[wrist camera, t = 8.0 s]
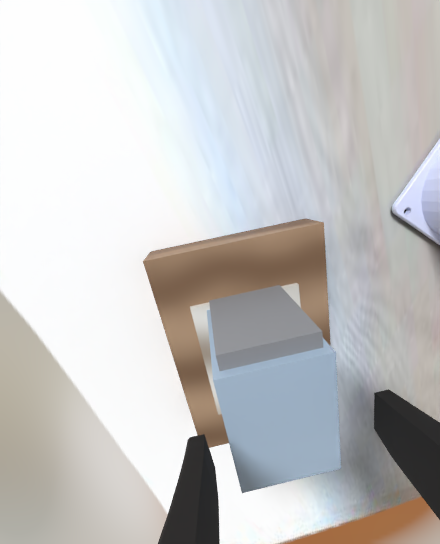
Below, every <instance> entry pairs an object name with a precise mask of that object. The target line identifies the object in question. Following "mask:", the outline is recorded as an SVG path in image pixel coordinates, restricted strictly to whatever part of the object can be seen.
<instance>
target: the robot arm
mask: <svg viewBox="0 0 440 544" xmlns="http://www.w3.org/2000/svg"><path fill="white" fill-rule="evenodd" d="M405 209H406V213H405V214H404V210H405ZM392 212H393V213H394V214H395V215H397V216H398V217H399V218H401V219H402V220H404V221H405V222H407V223H408V224H410V225H411V226H412V227H414V228H415V229H417V230H418V231H420V232H421V233H423V234H424V235H425V236H427V237H428V238H430V239H431V240H433V241H434V242H436V243H437V244H438V245H440V139H439V140H438V142H437V143H436V145H435V146H434V147H433V149H432V150H431V152H430V153H429V154H428V156H427V157H426V159H425V160H424V162H423V163H422V164H421V166H420V167H419V169H418V170H417V171H416V173H415V174H414V176H413V177H412V178H411V180H410V181H409V183H408V184H407V186H406V187H405V188H404V190H403V191H402V193H401V194H400V195H399V197H398V198H397V200H396V201H395V203H394V204H393V206H392ZM374 429H375V431H376V432H377V434H378V436H379V437H380V439H381V440H382V442H383V444H384V445H385V447H386V448H387V450H388V452H389V453H390V455H391V456H392V458H393V459H394V460H395V462H396V463H397V464H398V466H399V467H400V468H401V470H402V471H403V472H404V474H405V475H406V476H407V478H408V479H409V480H410V482H411V483H412V484H413V486H414V487H415V488H416V489H417V491H418V492H419V493H420V495H421V496H422V497H423V499H424V500H425V501H426V502H427V504H428V505H429V506H430V508H431V509H432V510H433V512H434V513H435V514H436V516H437V517H438V518H439V519H440V423H439V422H438V421H436V420H435V419H433V418H432V417H430V416H429V415H427V414H425V413H424V412H422V411H421V410H419V409H418V408H416V407H415V406H413V405H412V404H410V403H409V402H407V401H406V400H404V399H402V398H401V397H399V396H398V395H396V394H395V393H393V392H392V391H390V390H385V391H381V392H377V393H375V399H374ZM158 544H219V506H218V492H217V482H216V472H215V466H214V463H213V460H212V456H211V453H210V450H209V447H208V444H207V441H206V437H205V434H203V435H199V436H194V437H190V438H189V439H188V442H187V447H186V452H185V456H184V460H183V464H182V468H181V472H180V476H179V479H178V483H177V486H176V490H175V493H174V496H173V500H172V503H171V506H170V509H169V513H168V516H167V519H166V522H165V524H164V527H163V530H162V533H161V536H160V539H159V542H158Z"/></svg>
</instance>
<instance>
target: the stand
mask: <svg viewBox="0 0 440 544" xmlns="http://www.w3.org/2000/svg"><path fill="white" fill-rule="evenodd" d="M143 263H144V266H145V269H146V272H147V275H148V279H149V282H150V285H151V288H152V291H153V295H154V298H155V301H156V304H157V307H158V310H159V314H160V317H161V320H162V323H163V326H164V330H165V333H166V336H167V339H168V342H169V345H170V349H171V352H172V355H173V358H174V361H175V365H176V368H177V371H178V374H179V377H180V380H181V384H182V387H183V390H184V393H185V396H186V400H187V403H188V406H189V409H190V412H191V415H192V419H193V422H194V425H195V428H196V431H197V435H198V436H199V435H203V434H205V437H206V441H207V444H208V447H209V448H210V447H214V446H218V445H222V444H227V443H229V440H228V436H227V432H226V429H225V425H224V421H223V417H222V413H221V409H220V405H219V402H218V398H217V394H216V390H215V386H214V382H213V375H212V364H211V352H210V341H209V330H208V319H207V310H210V305H209V300H214V299H218V298H223V297H228V296H232V295H237V294H241V293H246V292H250V291H255V290H259V289H264V288H268V287H273V286H277V285H280V286H281V287H282V288H283V289H284V290H285V291H286V292H287V294H288V295H289V296H290V297H291V298H292V299H293V300H294V301H295V302H296V303H297V304H298V305H299V307H300V308H301V309H302V310H303V311H304V312H305V313H306V314H307V315H308V316H309V317H310V318H311V320H312V321H313V322H314V323H315V324H316V325H317V326H318V327H319V328H320V329H321V330H322V335H323V338H324V339H325V341H326V342H327V343H328V344H329V345H330V330H329V311H328V293H327V274H326V256H325V238H324V223H323V222H319V221H314V220H310V219H302V220H297V221H292V222H287V223H283V224H278V225H273V226H269V227H264V228H259V229H255V230H250V231H245V232H241V233H236V234H231V235H227V236H222V237H217V238H213V239H208V240H203V241H199V242H194V243H189V244H185V245H180V246H175V247H170V248H166V249H161V250H156V251H152V252H150V253H149V255H148V256H147V257H146V258H145V260H144V261H143Z"/></svg>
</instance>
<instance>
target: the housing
mask: <svg viewBox="0 0 440 544" xmlns="http://www.w3.org/2000/svg"><path fill="white" fill-rule="evenodd" d="M209 305H210V310H207V319H208V330H209V341H210V352H211V364H212V375H213V382H214V386H215V390H216V394H217V398H218V402H219V405H220V409H221V413H222V417H223V421H224V425H225V429H226V432H227V436H228V440H229V444H230V448H231V452H232V456H233V460H234V463H235V467H236V471H237V475H238V479H239V483H240V487H241V491H242V493H244V492H248V491H252V490H256V489H260V488H264V487H268V486H273V485H277V484H281V483H285V482H289V481H293V480H297V479H301V478H305V477H309V476H313V475H317V474H321V473H325V472H330V471H334V470H338V469H341V456H340V435H339V413H338V391H337V370H336V352H335V351H334V350H333V348H332V347H331V346H330V345H329V344H328V343H327V342H326V341H325V339H324V338H323V335H322V330H321V329H320V328H319V327H318V326H317V325H316V324H315V323H314V322H313V321H312V320H311V318H310V317H309V316H308V315H307V314H306V313H305V312H304V311H303V310H302V309H301V308H300V307H299V305H298V304H297V303H296V302H295V301H294V300H293V299H292V298H291V297H290V296H289V295H288V294H287V292H286V291H285V290H284V289H283V288H282V287H281V286H280V285H277V286H273V287H268V288H264V289H259V290H255V291H250V292H246V293H241V294H237V295H232V296H228V297H223V298H218V299H214V300H209Z"/></svg>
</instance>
